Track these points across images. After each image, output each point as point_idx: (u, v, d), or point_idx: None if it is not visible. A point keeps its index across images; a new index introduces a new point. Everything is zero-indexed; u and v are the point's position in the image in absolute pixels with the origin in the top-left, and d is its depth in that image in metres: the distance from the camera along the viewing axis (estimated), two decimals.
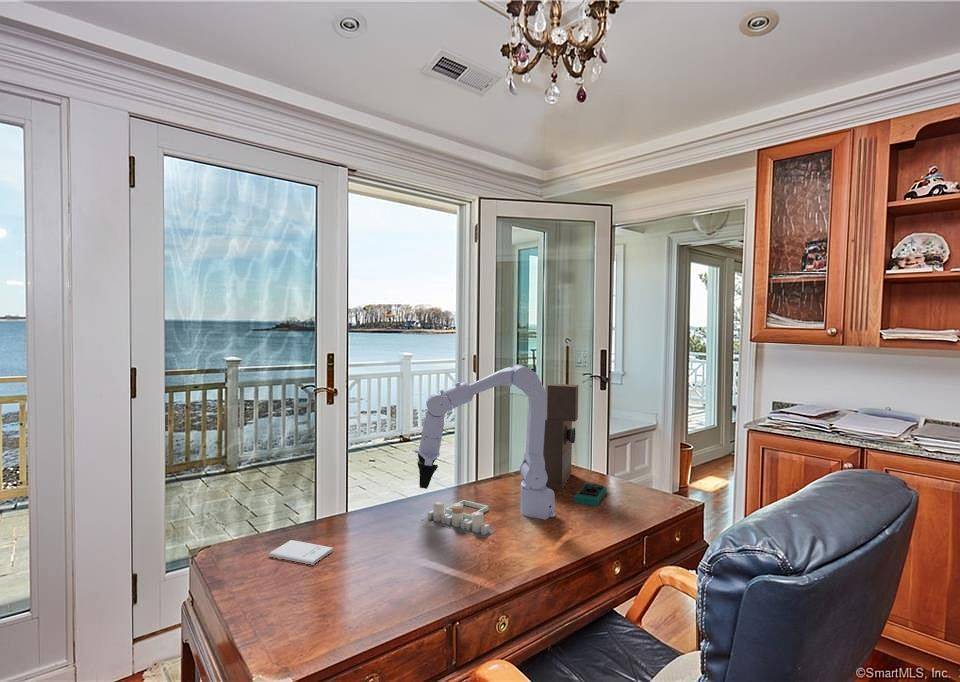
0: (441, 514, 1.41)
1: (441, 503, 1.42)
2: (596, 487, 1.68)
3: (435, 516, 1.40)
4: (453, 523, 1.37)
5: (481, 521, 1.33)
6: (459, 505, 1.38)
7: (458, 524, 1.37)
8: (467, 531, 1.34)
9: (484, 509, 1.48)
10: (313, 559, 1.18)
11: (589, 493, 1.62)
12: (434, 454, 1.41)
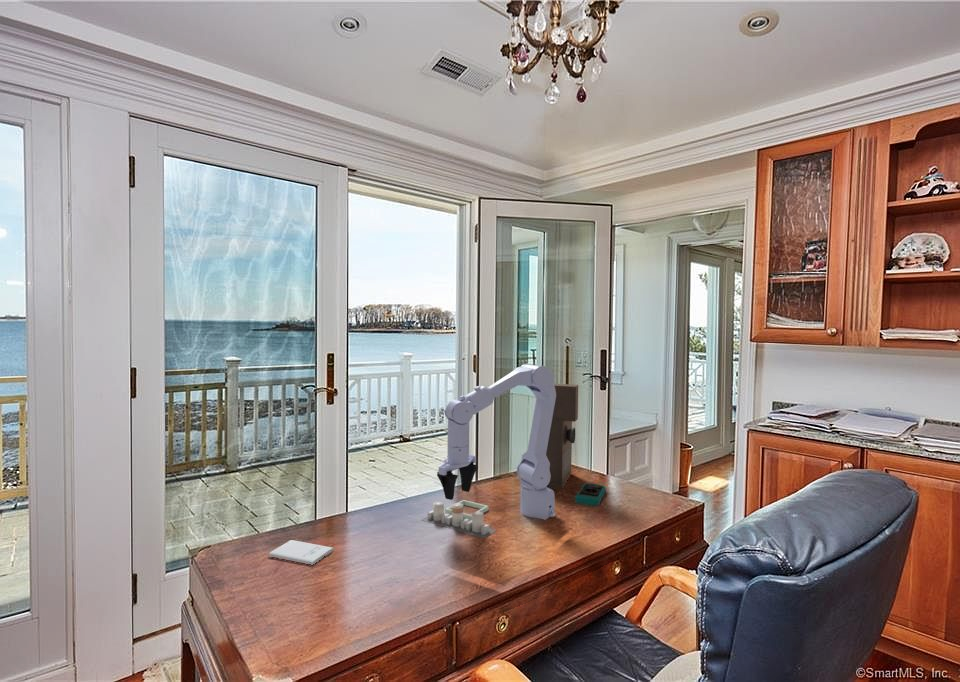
0: (441, 514, 1.41)
1: (441, 503, 1.42)
2: (595, 487, 1.68)
3: (435, 516, 1.40)
4: (453, 523, 1.37)
5: (481, 521, 1.33)
6: (459, 505, 1.38)
7: (458, 524, 1.37)
8: (467, 531, 1.34)
9: (484, 509, 1.48)
10: (313, 559, 1.18)
11: (589, 493, 1.62)
12: (457, 464, 1.35)
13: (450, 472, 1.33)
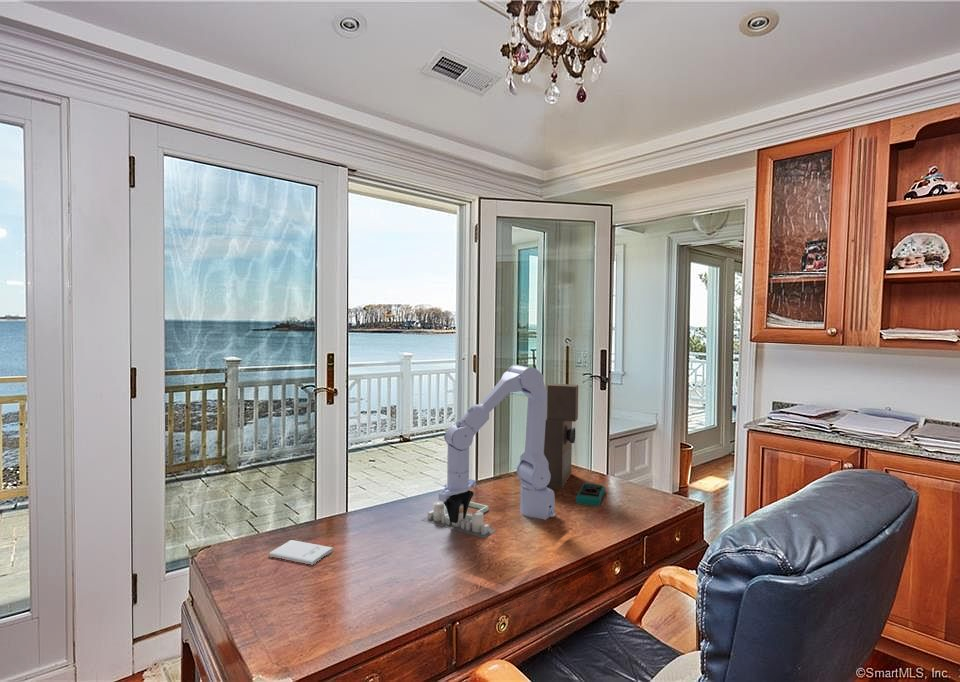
0: (441, 514, 1.41)
1: (441, 503, 1.42)
2: (595, 487, 1.68)
3: (435, 516, 1.40)
4: (453, 523, 1.37)
5: (481, 521, 1.33)
6: None
7: (458, 524, 1.37)
8: (467, 531, 1.34)
9: (484, 509, 1.48)
10: (313, 559, 1.18)
11: (590, 493, 1.62)
12: (457, 489, 1.35)
13: (454, 496, 1.35)
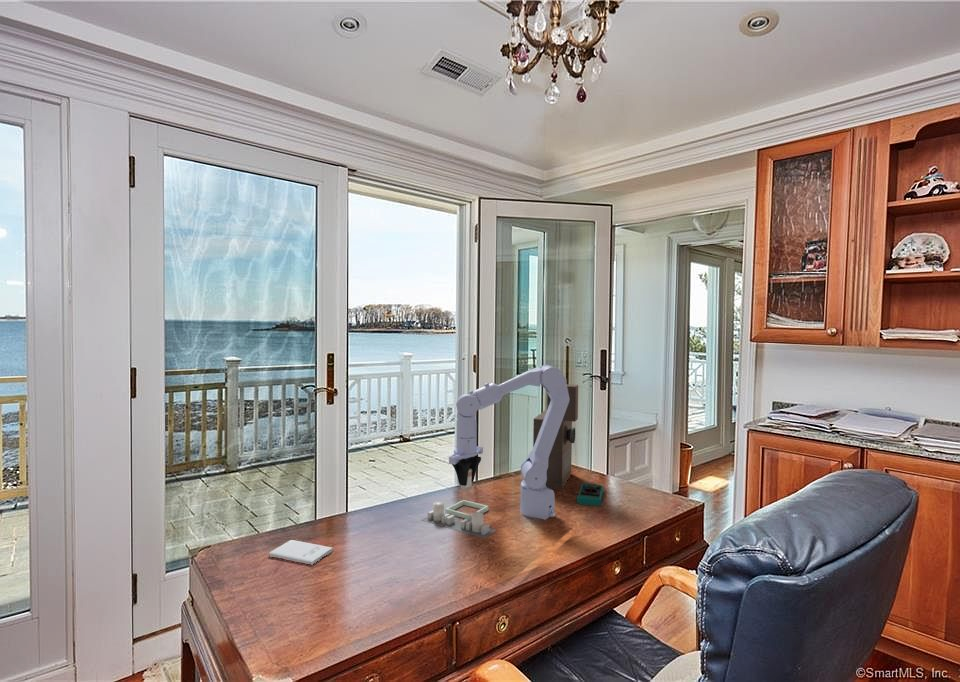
0: (441, 514, 1.41)
1: (441, 503, 1.42)
2: (594, 487, 1.68)
3: (435, 516, 1.40)
4: (462, 486, 1.45)
5: (481, 521, 1.33)
6: None
7: (467, 487, 1.45)
8: (467, 531, 1.34)
9: (484, 509, 1.48)
10: (313, 559, 1.18)
11: (590, 493, 1.62)
12: (466, 454, 1.43)
13: (464, 460, 1.44)
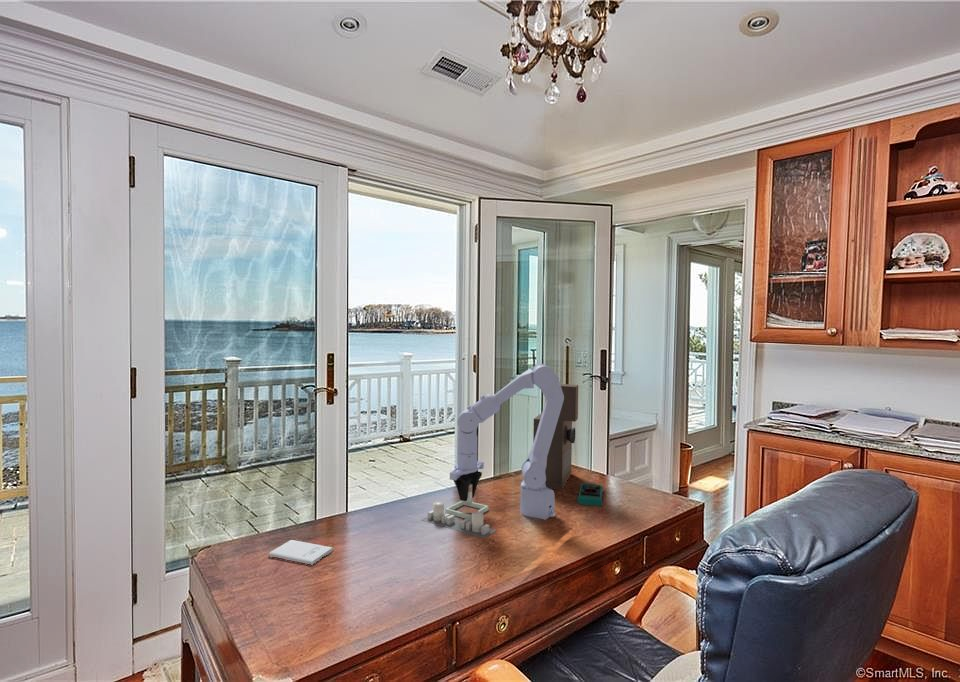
0: (441, 514, 1.41)
1: (441, 503, 1.42)
2: (593, 487, 1.68)
3: (435, 516, 1.40)
4: (462, 501, 1.47)
5: (481, 521, 1.33)
6: None
7: (467, 502, 1.46)
8: (467, 531, 1.34)
9: (484, 509, 1.48)
10: (312, 559, 1.18)
11: (590, 493, 1.62)
12: (466, 469, 1.45)
13: (464, 476, 1.45)
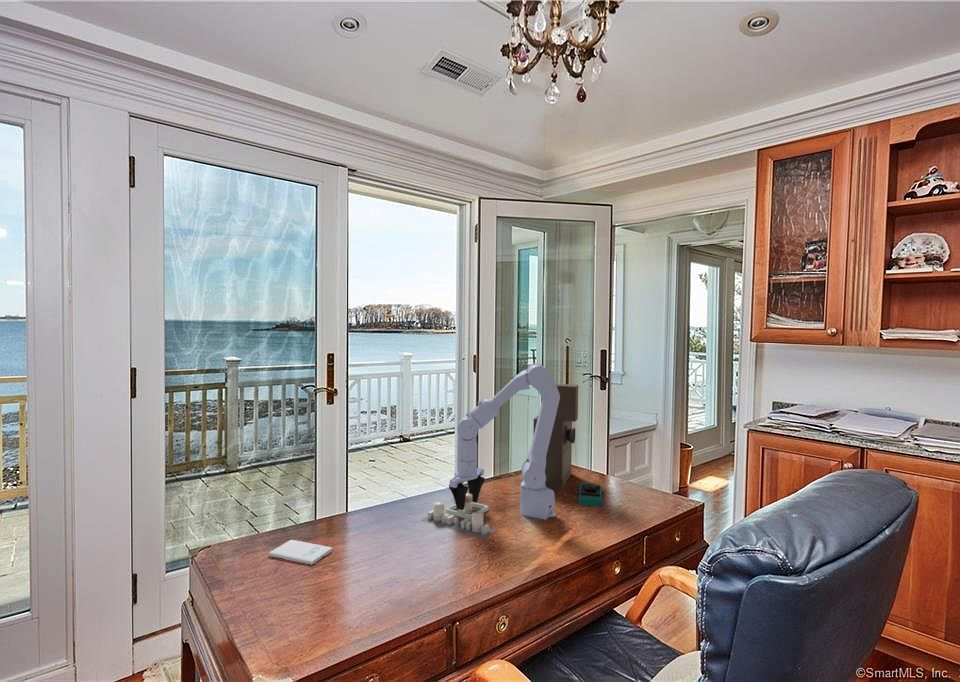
0: (441, 514, 1.41)
1: (441, 503, 1.42)
2: (593, 487, 1.68)
3: (435, 516, 1.40)
4: (463, 511, 1.47)
5: (481, 521, 1.33)
6: (468, 495, 1.48)
7: (467, 512, 1.47)
8: (467, 531, 1.34)
9: (484, 509, 1.48)
10: (312, 559, 1.18)
11: (591, 493, 1.62)
12: (466, 476, 1.45)
13: (461, 484, 1.44)
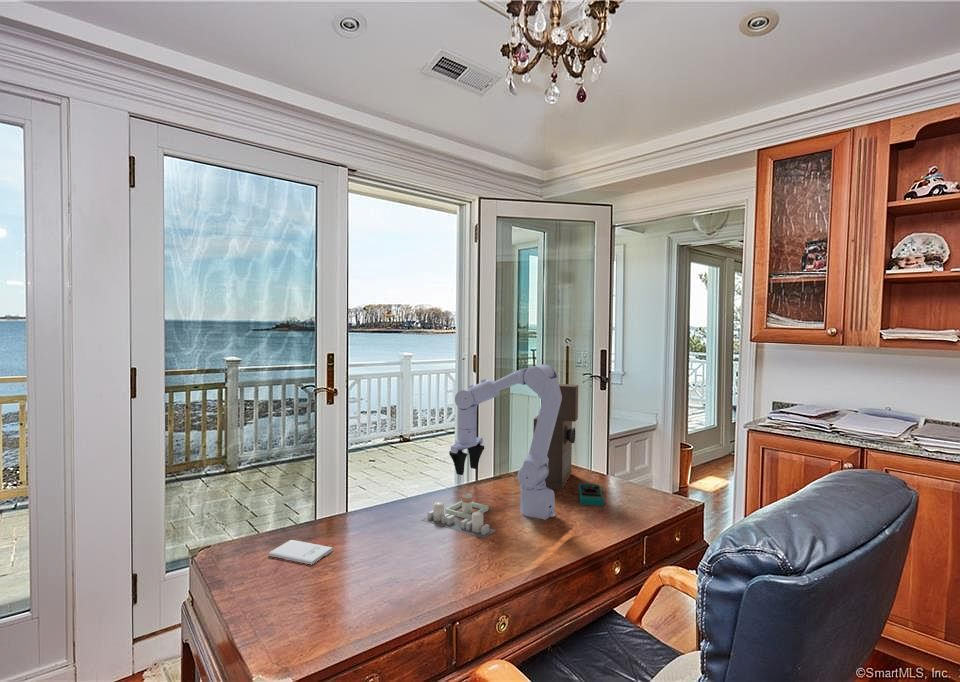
0: (441, 514, 1.41)
1: (441, 503, 1.42)
2: (592, 487, 1.68)
3: (435, 516, 1.40)
4: (463, 511, 1.47)
5: (481, 521, 1.33)
6: (468, 495, 1.47)
7: (467, 512, 1.47)
8: (467, 531, 1.34)
9: (484, 509, 1.48)
10: (312, 559, 1.18)
11: (591, 494, 1.62)
12: (466, 444, 1.55)
13: (460, 451, 1.54)
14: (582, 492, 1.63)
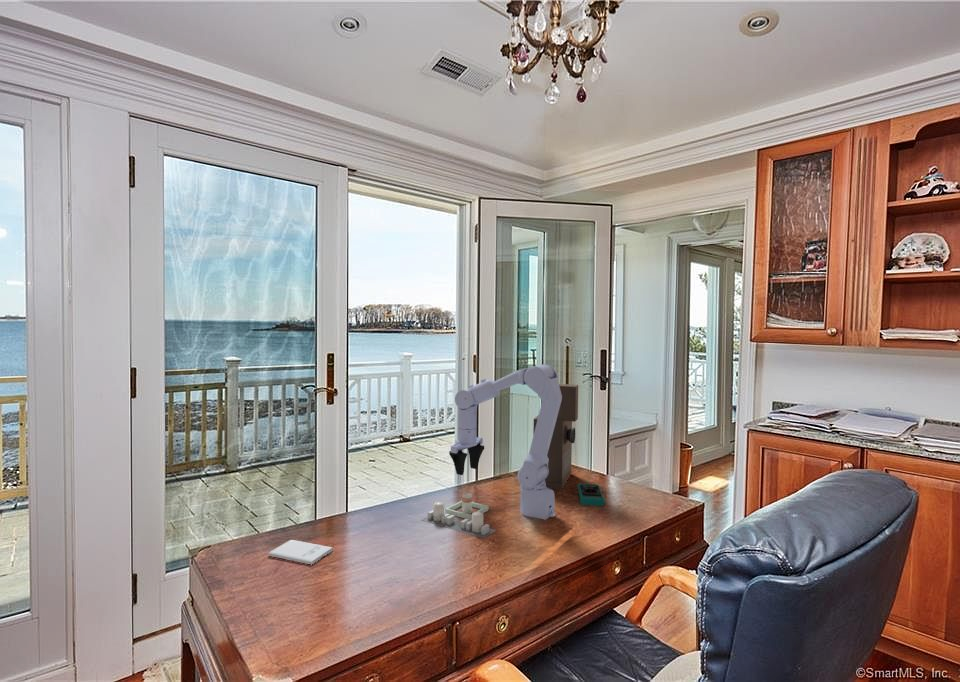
0: (441, 514, 1.41)
1: (441, 503, 1.42)
2: (591, 487, 1.68)
3: (435, 516, 1.40)
4: (463, 511, 1.47)
5: (481, 521, 1.33)
6: (468, 495, 1.47)
7: (467, 512, 1.47)
8: (467, 531, 1.34)
9: (484, 509, 1.48)
10: (312, 559, 1.18)
11: (592, 494, 1.61)
12: (466, 444, 1.55)
13: (460, 451, 1.54)
14: (582, 492, 1.63)
